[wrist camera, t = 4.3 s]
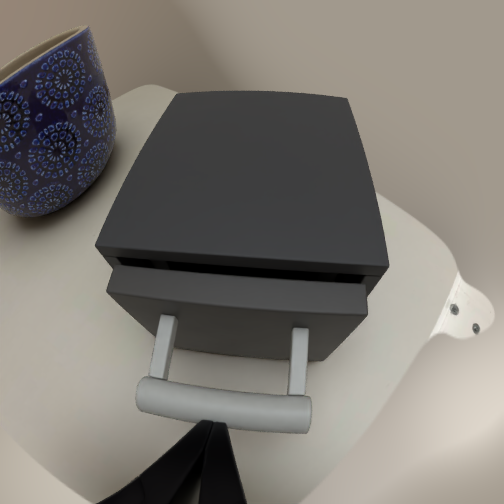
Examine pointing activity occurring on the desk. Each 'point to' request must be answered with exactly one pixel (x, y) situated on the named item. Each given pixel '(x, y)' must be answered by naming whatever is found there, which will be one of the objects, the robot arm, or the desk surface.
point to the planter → (53, 124)
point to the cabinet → (251, 189)
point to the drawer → (236, 334)
